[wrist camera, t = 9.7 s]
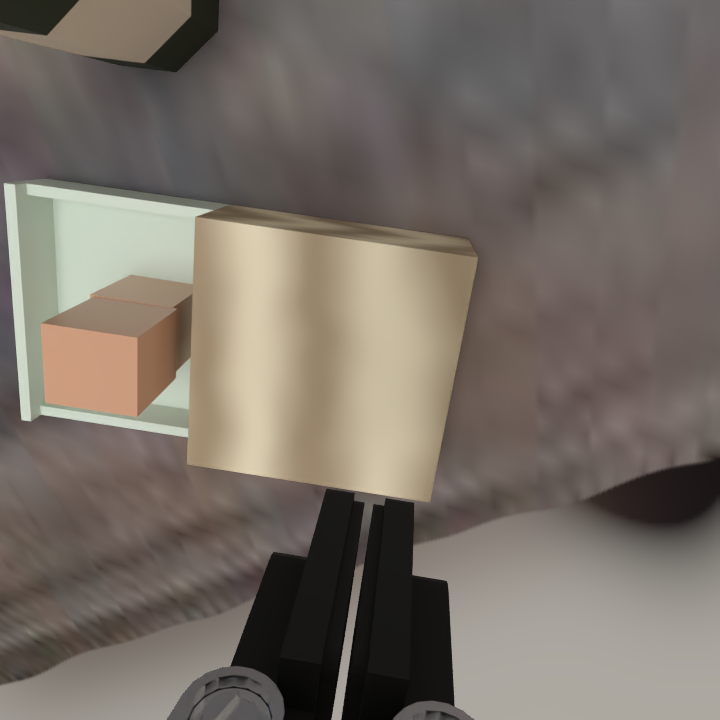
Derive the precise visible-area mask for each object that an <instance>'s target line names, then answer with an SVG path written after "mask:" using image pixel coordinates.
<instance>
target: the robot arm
mask: <svg viewBox="0 0 720 720" xmlns="http://www.w3.org/2000/svg"><path fill="white" fill-rule="evenodd" d="M354 495H355V493H350V492H344V491H338V490H332V489H326V492H325V496H324V499H323V503H322V507H321V510H320V514H319V517H318V521H317V524H316V528H315V532H314V535H313V539H312V542H311V546H310V550H309V553H308V557H301V556H295V555H289V554H283V553H277V552H273V554H272V555H271V557H270V560H269V562H268V565H267V568H266V571H265V573H264V576H263V579H262V582H261V584H260V587H259V590H258V593H257V595H256V598H255V601H254V604H253V606H252V609H251V612H250V614H249V617H248V620H247V623H246V625H245V628H244V631H243V634H242V636H241V639H240V642H239V644H238V647H237V650H236V653H235V655H234V658H233V661H232V663H231V666H230V667H222V668H219V669H216V670H213V671H210V672H208V673H205V674H204V675H203V676H201V677H200V678H198V679H197V680H195V681H194V682H192V684H191V685H190V686H189V687H188V688H187V690H186V691H185V692H184V693H183V694H182V696H181V697H180V699H179V701H178V702H177V704H176V705H175V707H174V709H173V710H172V712H171V714H170V715H169V717H168V718H167V720H331V718H332V712H333V706H334V700H335V693H336V687H337V681H338V675H339V668H340V662H341V656H342V650H343V643H344V637H345V631H346V624H347V618H348V611H349V604H350V598H351V591H352V584H353V577H354V570H355V564H356V557H357V550H358V544H359V537H360V530H361V523H362V517H363V510H364V502H357V501H354ZM413 531H414V503H412V502H406V501H400V500H393V499H387V498H386V500H385V505H384V506H382V505H376V504H374V505H373V511H372V518H371V524H370V530H369V537H368V543H367V550H366V556H365V563H364V570H363V576H362V582H361V589H360V596H359V602H358V608H357V615H356V621H355V628H354V635H353V642H352V649H351V656H350V663H349V670H348V678H347V684H346V691H345V699H344V706H343V712H342V719H341V720H474V719H473V718H471V717H470V716H469V715H467V714H466V713H465V712H464V711H462V710H460V709H458V708H456V707H455V706H454V688H453V669H452V649H451V631H450V611H449V592H448V583H447V581H443V580H438V579H431V578H426V577H420V576H414V575H412V566H413Z"/></svg>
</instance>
